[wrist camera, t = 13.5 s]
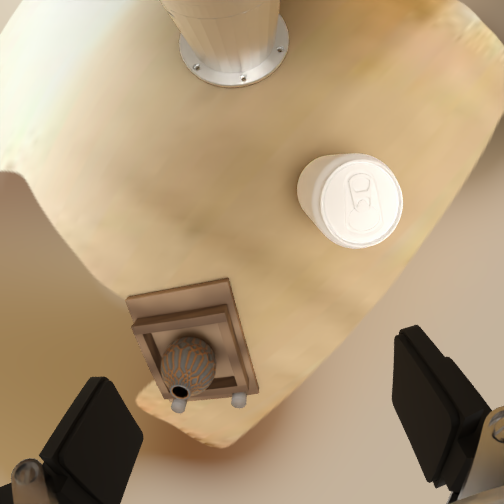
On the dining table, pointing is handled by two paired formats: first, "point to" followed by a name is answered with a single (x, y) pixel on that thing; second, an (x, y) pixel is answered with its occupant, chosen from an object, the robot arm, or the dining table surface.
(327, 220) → the beverage can
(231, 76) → the robot arm
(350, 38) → the dining table surface
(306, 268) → the dining table surface
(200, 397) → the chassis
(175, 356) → the vase
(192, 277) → the dining table surface
